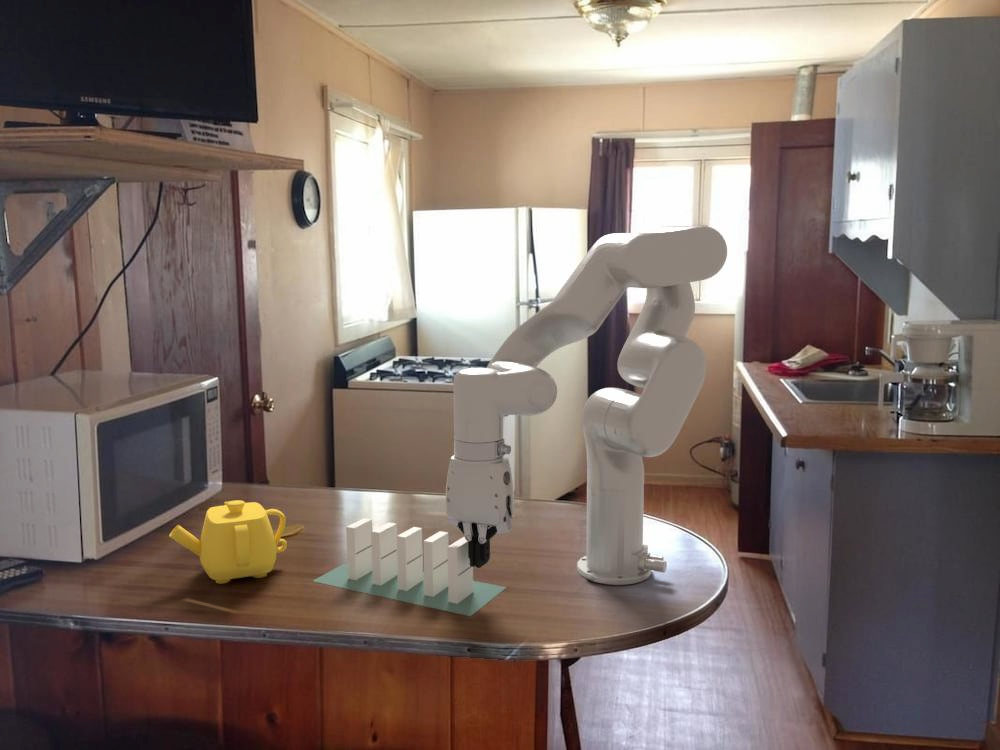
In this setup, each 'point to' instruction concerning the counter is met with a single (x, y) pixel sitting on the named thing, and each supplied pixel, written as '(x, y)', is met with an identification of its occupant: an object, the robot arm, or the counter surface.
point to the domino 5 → (459, 571)
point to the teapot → (235, 541)
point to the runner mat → (412, 591)
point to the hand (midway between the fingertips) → (479, 564)
